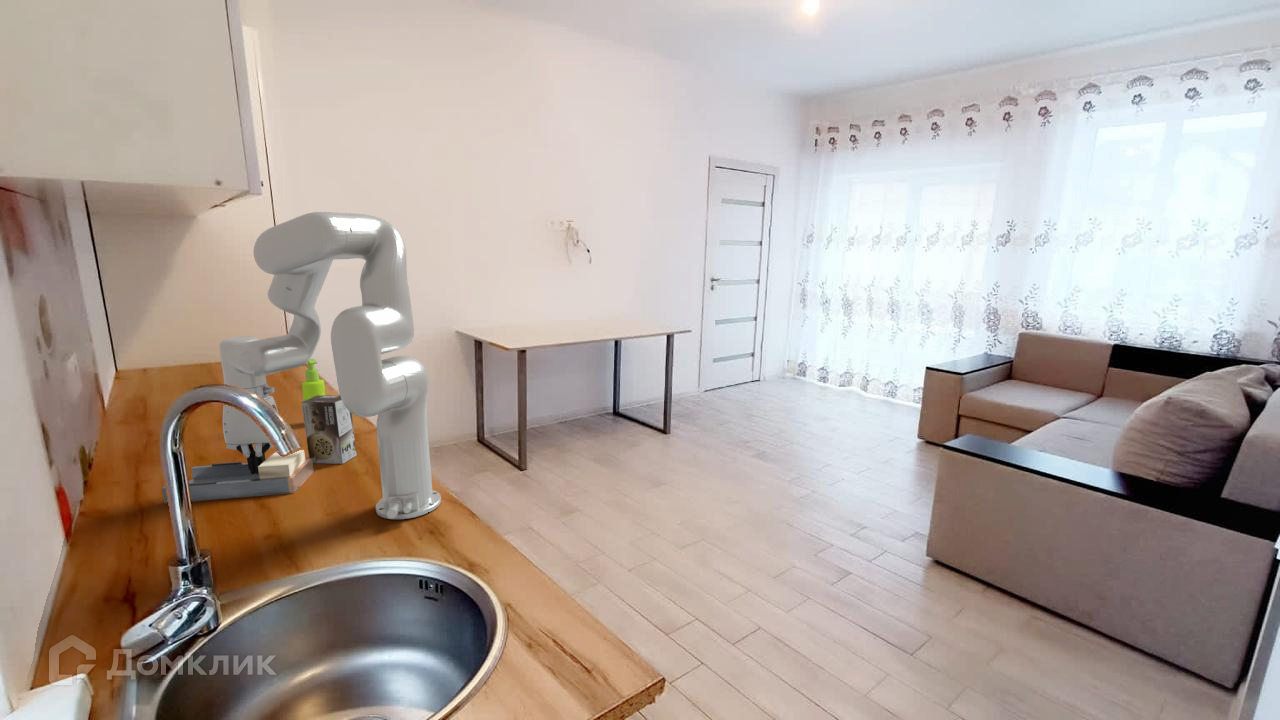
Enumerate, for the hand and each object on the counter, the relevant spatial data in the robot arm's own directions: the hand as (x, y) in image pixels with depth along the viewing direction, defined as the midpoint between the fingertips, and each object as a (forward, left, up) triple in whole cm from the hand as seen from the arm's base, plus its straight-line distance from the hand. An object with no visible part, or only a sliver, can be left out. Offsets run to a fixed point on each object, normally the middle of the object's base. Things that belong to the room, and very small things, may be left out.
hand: (258, 471), depth 128 cm
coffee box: (+14, -11, -4) cm, 18 cm away
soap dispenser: (+47, +3, -4) cm, 47 cm away
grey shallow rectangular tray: (0, +4, -3) cm, 5 cm away
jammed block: (0, -5, -2) cm, 6 cm away
